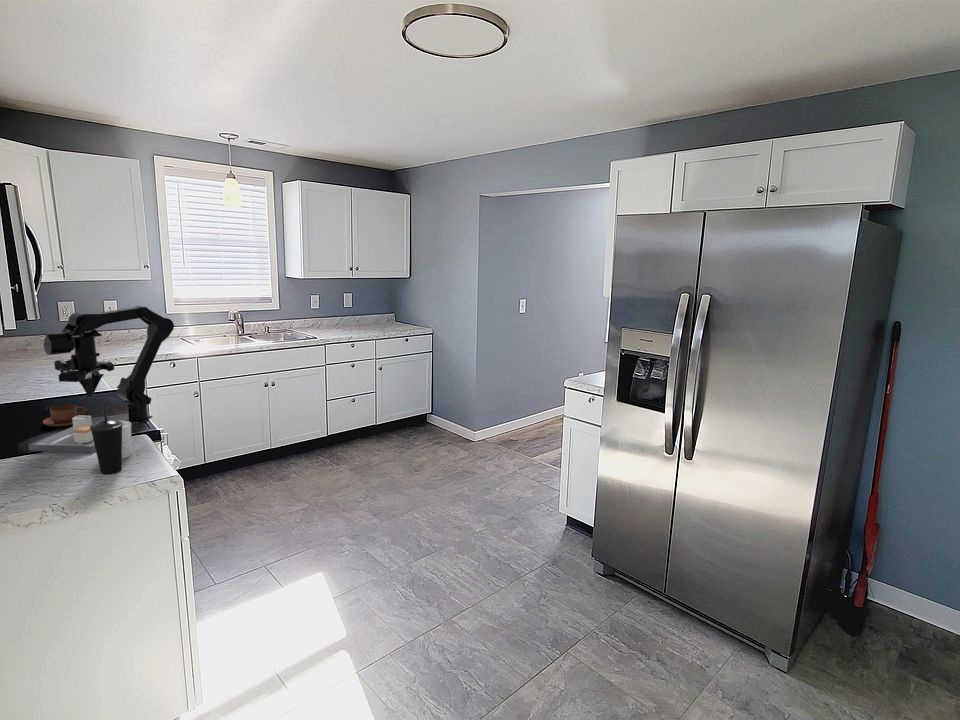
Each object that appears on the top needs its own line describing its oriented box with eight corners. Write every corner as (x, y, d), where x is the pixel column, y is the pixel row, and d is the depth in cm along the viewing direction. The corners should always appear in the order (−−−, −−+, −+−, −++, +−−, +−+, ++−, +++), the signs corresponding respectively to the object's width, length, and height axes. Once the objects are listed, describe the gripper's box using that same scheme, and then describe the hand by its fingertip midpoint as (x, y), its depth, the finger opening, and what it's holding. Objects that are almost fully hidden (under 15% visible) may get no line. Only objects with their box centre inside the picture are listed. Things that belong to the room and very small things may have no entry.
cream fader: (79, 427, 179) (78, 414, 178) (92, 427, 179) (91, 415, 179) (73, 429, 176) (72, 417, 176) (86, 430, 176) (84, 417, 176)
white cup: (139, 451, 166) (136, 420, 164) (123, 461, 159) (120, 429, 157) (113, 451, 166) (110, 420, 164) (96, 460, 158) (92, 428, 156)
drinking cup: (91, 478, 147) (83, 408, 143) (98, 467, 154) (91, 400, 150) (124, 474, 150) (117, 405, 146) (129, 464, 157) (123, 398, 153)
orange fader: (81, 439, 169) (79, 426, 168) (94, 439, 169) (93, 427, 168) (74, 442, 166) (72, 429, 165) (87, 442, 166) (86, 430, 165)
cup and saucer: (70, 416, 196) (69, 400, 195) (94, 421, 192) (92, 404, 191) (34, 426, 185) (32, 409, 184) (58, 431, 181) (56, 413, 180)
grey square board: (74, 431, 181) (74, 425, 181) (129, 433, 182) (128, 427, 181) (32, 451, 164) (31, 444, 163) (92, 452, 164) (91, 446, 164)
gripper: (80, 345, 187) (85, 388, 190) (38, 355, 168) (44, 403, 172) (113, 346, 187) (117, 389, 190) (74, 356, 169) (80, 404, 172)
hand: (90, 396), depth 181 cm, fingers closed
